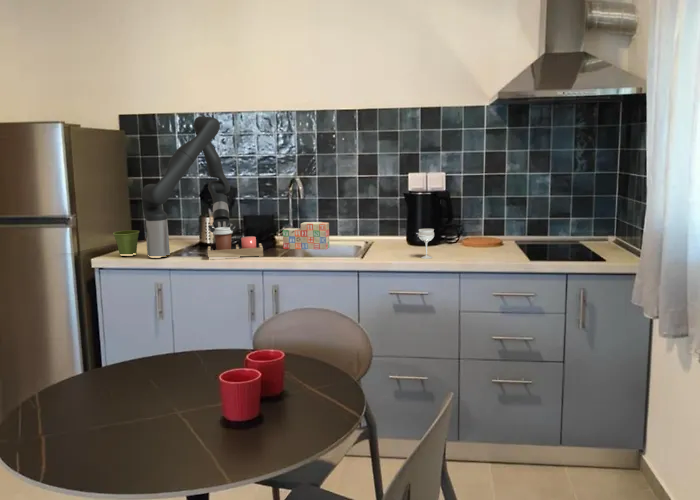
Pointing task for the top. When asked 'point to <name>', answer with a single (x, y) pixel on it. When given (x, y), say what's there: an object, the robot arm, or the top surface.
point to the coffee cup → (223, 238)
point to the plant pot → (127, 241)
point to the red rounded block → (248, 242)
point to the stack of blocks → (307, 236)
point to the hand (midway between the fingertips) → (223, 242)
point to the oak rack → (236, 252)
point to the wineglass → (426, 238)
